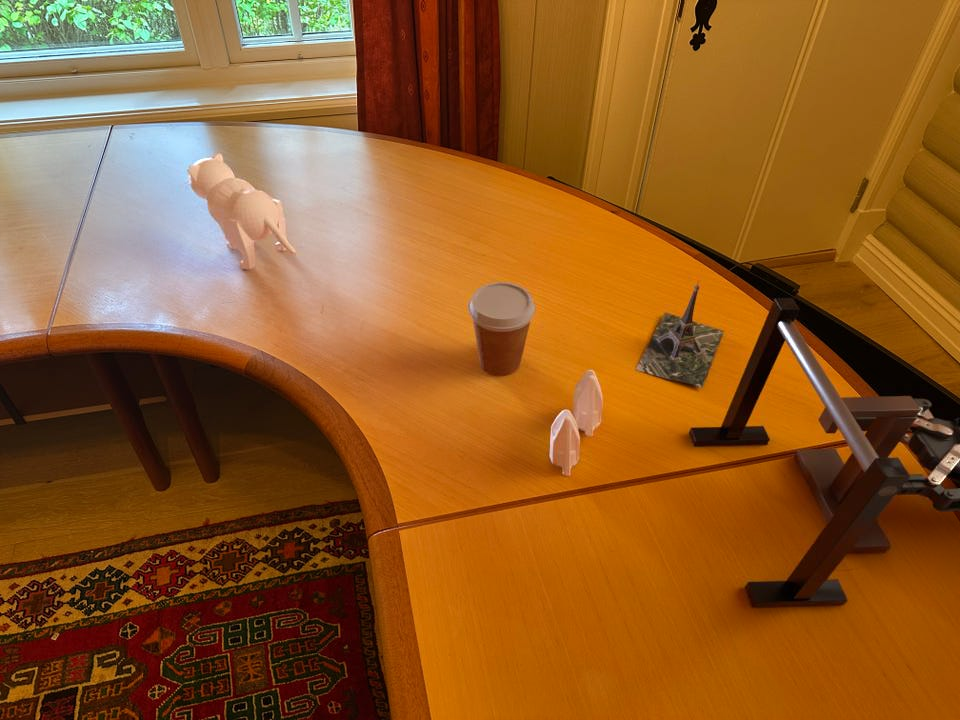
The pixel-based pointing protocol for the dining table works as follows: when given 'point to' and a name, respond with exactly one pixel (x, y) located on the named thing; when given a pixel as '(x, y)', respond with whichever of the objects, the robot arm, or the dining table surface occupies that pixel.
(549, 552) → the dining table surface
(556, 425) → the shaker set
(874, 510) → the rack
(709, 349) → the eiffel tower figurine
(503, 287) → the disposable coffee cup
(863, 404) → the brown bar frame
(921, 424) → the robot arm
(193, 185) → the cat figurine
